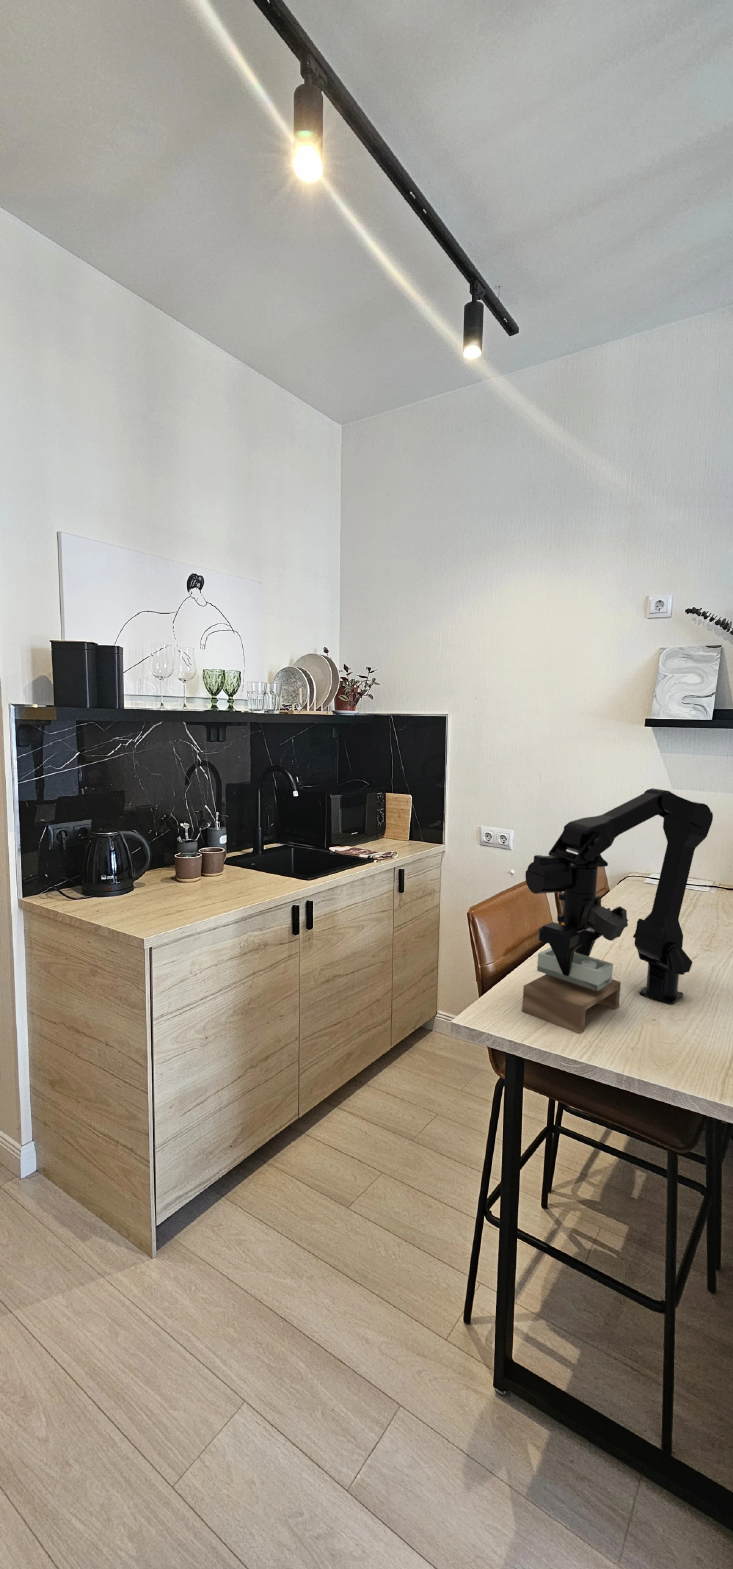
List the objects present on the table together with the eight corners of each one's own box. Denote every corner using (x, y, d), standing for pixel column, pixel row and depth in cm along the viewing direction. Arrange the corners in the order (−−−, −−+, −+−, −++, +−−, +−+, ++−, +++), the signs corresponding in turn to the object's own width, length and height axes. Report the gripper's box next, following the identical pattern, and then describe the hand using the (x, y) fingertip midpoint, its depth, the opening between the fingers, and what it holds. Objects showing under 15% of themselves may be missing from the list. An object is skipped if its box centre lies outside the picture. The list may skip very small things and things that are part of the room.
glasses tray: (552, 963, 130) (553, 946, 130) (611, 981, 122) (613, 963, 122) (537, 970, 126) (538, 953, 126) (597, 990, 118) (598, 971, 117)
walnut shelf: (563, 988, 134) (565, 964, 134) (618, 1006, 127) (620, 981, 126) (522, 1011, 123) (523, 985, 123) (579, 1033, 115) (581, 1006, 115)
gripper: (598, 909, 110) (592, 999, 112) (643, 890, 123) (637, 971, 125) (539, 895, 118) (533, 979, 119) (587, 878, 131) (581, 954, 133)
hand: (574, 971), depth 124 cm, fingers closed on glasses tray, 6 cm apart
